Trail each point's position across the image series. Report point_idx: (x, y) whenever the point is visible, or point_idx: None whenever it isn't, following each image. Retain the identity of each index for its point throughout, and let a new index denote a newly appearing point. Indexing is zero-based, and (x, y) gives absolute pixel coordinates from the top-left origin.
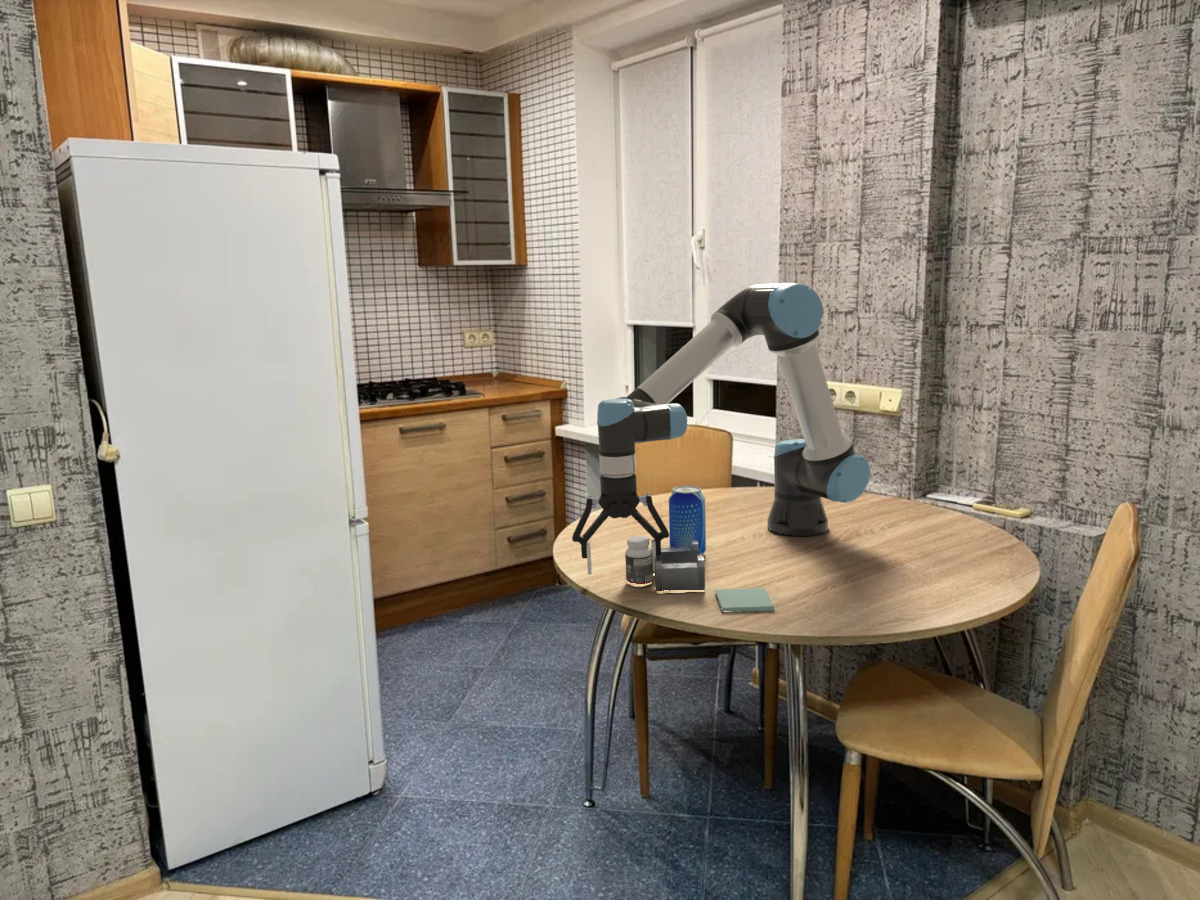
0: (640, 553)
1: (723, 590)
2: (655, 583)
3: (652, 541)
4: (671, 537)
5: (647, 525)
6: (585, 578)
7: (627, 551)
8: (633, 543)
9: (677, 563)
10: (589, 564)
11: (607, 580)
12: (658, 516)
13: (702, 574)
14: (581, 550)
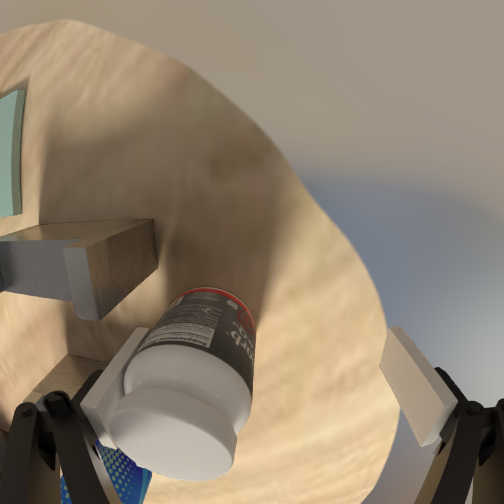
0: (164, 362)
1: (2, 208)
2: (145, 260)
3: (95, 415)
4: (134, 488)
5: (75, 489)
6: (375, 374)
7: (238, 400)
8: (190, 414)
9: (44, 296)
10: (410, 347)
11: (315, 361)
12: (1, 494)
13: (5, 236)
14: (457, 387)
